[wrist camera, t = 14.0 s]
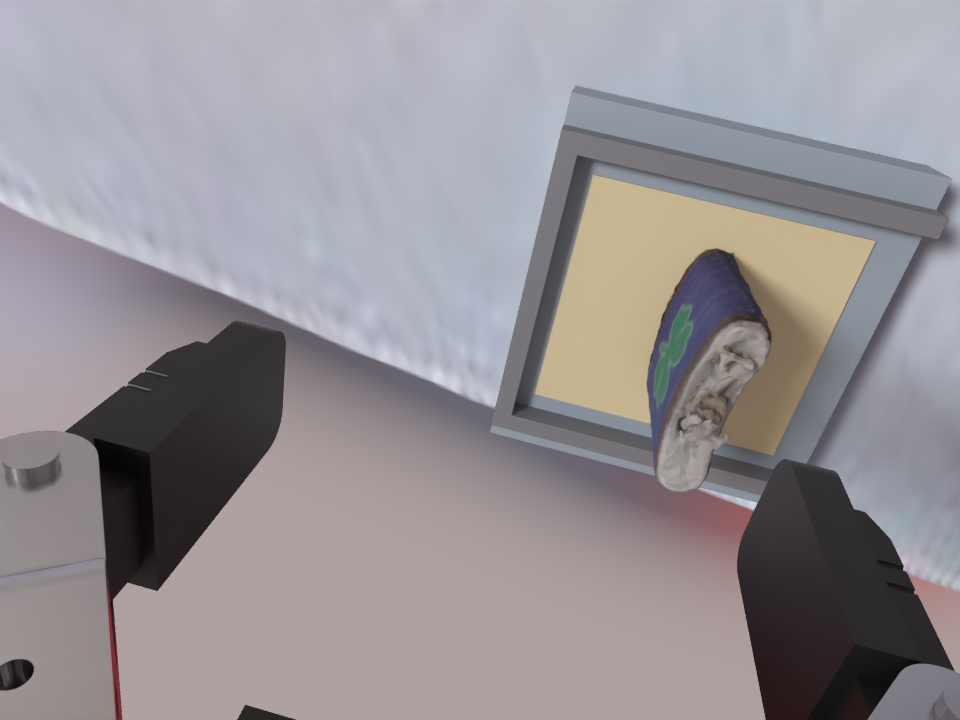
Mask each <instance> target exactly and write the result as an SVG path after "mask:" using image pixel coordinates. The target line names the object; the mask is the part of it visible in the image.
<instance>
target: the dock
mask: <svg viewBox="0 0 960 720" xmlns="http://www.w3.org/2000/svg"><path fill="white" fill-rule="evenodd" d="M951 180H952V179H951V178H950V177H948V176H946V175H944V174H942V173H940V172H938V171H936V170H935V169H933V168H931V167H929V166H927V165H922V164H918V163H913V162H909V161H905V160H900V159H896V158H891V157H887V156H883V155H878V154H874V153H869V152H865V151H860V150H856V149H852V148H847V147H843V146H838V145H834V144H830V143H825V142H821V141H816V140H812V139H808V138H803V137H799V136H794V135H790V134H786V133H781V132H777V131H772V130H768V129H763V128H759V127H755V126H750V125H746V124H741V123H737V122H733V121H728V120H724V119H719V118H715V117H711V116H706V115H702V114H697V113H693V112H689V111H684V110H680V109H675V108H671V107H666V106H662V105H658V104H653V103H649V102H644V101H640V100H636V99H631V98H627V97H622V96H618V95H614V94H609V93H605V92H600V91H596V90H591V89H587V88H583V87H578V86H575V87H574V89H573V91H572V93H571V97H570V102H569V106H568V110H567V114H566V118H565V122H564V125H563V128H562V130H561V135H560V139H559V143H558V147H557V151H556V156H555V160H554V164H553V168H552V172H551V177H550V181H549V185H548V189H547V193H546V198H545V202H544V206H543V210H542V214H541V219H540V223H539V227H538V231H537V235H536V240H535V244H534V248H533V252H532V256H531V260H530V265H529V269H528V273H527V277H526V281H525V286H524V290H523V294H522V298H521V302H520V307H519V311H518V315H517V319H516V323H515V328H514V332H513V336H512V340H511V344H510V349H509V353H508V357H507V361H506V365H505V370H504V374H503V378H502V382H501V386H500V391H499V395H498V399H497V403H496V407H495V412H494V416H493V420H492V424H491V425H492V428H491V433H495V434H499V435H503V436H506V437H510V438H514V439H518V440H522V441H525V442H529V443H533V444H537V445H540V446H544V447H548V448H552V449H556V450H560V451H564V452H568V453H571V454H575V455H579V456H583V457H586V458H591V459H594V460H598V461H601V462H605V463H609V464H613V465H617V466H621V467H624V468H628V469H632V470H636V471H640V472H643V473H647V474H651V475H655V472H654V460H653V443H652V430H651V425H650V423H651V418H650V411H649V397H648V393H647V383H646V382H647V378H648V375H647V374H648V367H649V363H650V357H651V354H652V352H653V349H654V347H653V346H654V344H655V340H656V338H657V333H658V330H659V327H660V324H661V317H662V315H663V313H664V312H665V309H666V304H667V303H668V301H669V300H670V296H671V295H672V294H673V292H674V289H675V286H676V285H677V284H678V283H679V281H680V280H681V278H682V276H683V273H685V270H686V268H687V267H688V266H689V265H690V264H691V263H692V262H693V261H694V260H695V257H696V256H698V255H699V254H700V253H702V252H704V251H705V250H706V249H715V248H718V249H721V250H725V251H726V252H728V253H733V252H734V258H735V260H736V262H737V264H738V268H739V270H740V273H741V274H742V276H743V277H744V279H745V281H746V283H747V284H748V285H749V287H750V290H751V293H752V295H753V298H754V299H755V300H756V302H757V304H758V306H759V307H760V308H761V312H762V314H763V316H764V317H765V318H766V320H767V321H768V327H769V329H770V331H771V335H772V342H771V352H770V354H769V356H768V358H767V360H766V361H765V362H764V364H763V366H762V368H761V369H760V370H759V371H758V372H756V373H755V374H754V376H753V378H752V379H751V380H750V381H749V382H748V383H747V384H746V386H745V387H744V389H743V390H742V392H741V394H740V395H739V397H738V398H737V400H736V401H735V403H734V406H733V408H732V410H731V411H730V413H729V415H728V417H727V419H726V421H725V423H724V426H723V428H722V432H721V433H720V435H719V436H720V437H723V436H724V435H726V434H729V436H730V440H729V441H728V442H725V443H724V444H723V445H722V446H721V447H720V448H719V449H714V451H713V455H712V459H711V465H710V469H709V473H708V476H707V477H706V479H705V480H704V482H703V483H702V485H701V486H700V488H704V489H708V490H712V491H716V492H719V493H723V494H727V495H731V496H735V497H738V498H742V499H746V500H750V501H754V502H757V503H758V502H759V499H760V497H761V495H762V493H763V491H764V489H765V487H766V485H767V483H768V480H769V478H770V476H771V474H772V472H773V470H774V468H775V467H776V465H777V464H778V463H779V462H780V461H781V460H783V459H789V460H792V461H796V462H800V463H804V464H807V462H808V460H809V459H810V457H811V455H812V453H813V451H814V449H815V447H816V445H817V443H818V441H819V439H820V437H821V435H822V433H823V431H824V429H825V427H826V425H827V423H828V421H829V419H830V417H831V415H832V413H833V411H834V409H835V408H836V406H837V404H838V402H839V400H840V398H841V396H842V394H843V392H844V390H845V388H846V386H847V384H848V382H849V380H850V378H851V376H852V374H853V372H854V370H855V368H856V366H857V364H858V362H859V360H860V358H861V357H862V355H863V353H864V351H865V349H866V347H867V345H868V343H869V341H870V339H871V337H872V335H873V333H874V331H875V329H876V327H877V325H878V323H879V321H880V319H881V317H882V315H883V313H884V311H885V309H886V307H887V306H888V304H889V302H890V300H891V298H892V296H893V294H894V292H895V290H896V288H897V286H898V284H899V282H900V280H901V278H902V276H903V274H904V272H905V270H906V268H907V266H908V264H909V262H910V260H911V258H912V256H913V255H914V253H915V251H916V249H917V247H918V245H919V243H920V241H921V239H922V237H923V236H926V237H930V238H934V239H939V237H940V235H941V233H942V231H943V229H944V227H945V225H946V224H947V222H948V220H949V218H947V217H946V216H944V215H943V214H941V213H940V212H938V211H937V210H936V209H937V207H938V206H939V204H940V202H941V200H942V198H943V196H944V194H945V192H946V190H947V188H948V186H949V184H950V182H951Z"/></svg>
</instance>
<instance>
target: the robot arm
mask: <svg viewBox="0 0 960 720" xmlns="http://www.w3.org/2000/svg"><path fill="white" fill-rule="evenodd" d="M285 351H286V342H285V336H284V334H283V333H282V332H281V331H277V330H274V329H270V328H266V327H262V326H258V325H254V324H250V323H246V322H241V321H234V322H233V323H231V324H230V325H229V326H227V327H226V328H225V329H224V330H223V331H222V332H220V333H219V334H218V335H217V336H216V337H214V338H213V339H212V340H211V341H209V342H208V343H207V344H206V343H202V342H194V343H191V344H189V345H186V346H183V347H180V348H178V349H175V350H173V351H170V352H167V353H166V354H164V355H163V356H162V357H160V358H159V359H158V360H157V361H155V362H154V363H153V364H151V365H150V366H149V367H148V368H146V371H145V373H140V374H139V375H137V376H136V377H135V378H133V379H132V380H131V381H130V382H128V386H127V387H125V386H123V387H122V388H120V389H119V390H118V391H117V392H115V393H114V394H113V395H111V396H110V397H109V398H108V399H107V400H105V401H104V402H102V403H101V404H100V405H99V406H97V407H96V408H95V409H93V410H92V411H91V412H90V413H88V414H87V415H86V416H84V417H83V418H82V419H81V420H79V421H78V422H77V423H76V424H74V425H73V426H72V427H70V428H69V429H68V430H66V431H65V432H58V431H35V432H28V433H22V434H18V435H14V436H10V437H7V438H4V439H1V440H0V720H122V708H121V695H120V682H119V670H118V657H117V644H116V632H115V619H114V607H113V599H114V598H115V596H116V595H117V594H118V593H119V592H120V590H121V589H122V588H123V587H124V586H125V585H126V584H127V582H128V583H131V584H135V585H138V586H142V587H145V588H149V589H152V590H156V591H158V590H159V588H160V587H161V586H162V584H163V583H164V582H165V581H166V580H167V578H168V577H169V576H170V574H171V573H172V572H173V571H174V569H175V568H176V567H177V566H178V564H179V563H180V562H181V560H182V559H183V558H184V557H185V555H186V554H187V553H188V552H189V550H190V549H191V548H192V546H193V545H194V544H195V543H196V541H197V540H198V539H199V537H200V536H201V535H202V534H203V532H204V531H205V530H206V529H207V527H208V526H209V525H210V524H211V522H212V521H213V520H214V519H215V517H216V516H217V515H218V513H219V512H220V511H221V510H222V508H223V507H224V506H225V505H226V503H227V502H228V501H229V499H230V498H231V497H232V496H233V494H234V493H235V492H236V491H237V489H238V488H239V487H240V485H241V484H242V483H243V482H244V480H245V479H246V478H247V477H248V475H249V474H250V473H251V472H252V470H253V469H254V468H255V466H256V465H257V464H258V463H259V461H260V460H261V459H262V458H263V456H264V455H265V454H266V453H267V451H268V450H269V449H270V447H271V445H272V444H273V442H274V440H275V437H276V435H277V433H278V429H279V426H280V422H281V417H282V408H283V389H284V369H285ZM903 567H904V566H903V564H902V562H901V560H900V558H899V556H898V554H897V551H896V549H895V547H894V545H893V543H892V541H891V539H890V538H889V537H888V536H887V535H886V534H885V533H884V532H883V531H882V530H881V529H880V527H879V526H878V525H877V524H876V523H875V522H874V521H873V520H872V519H871V518H870V517H869V516H868V515H867V514H866V513H865V512H863V511H859V510H855V509H853V506H852V504H851V502H850V500H849V497H848V495H847V493H846V491H845V488H844V486H843V484H842V482H841V479H840V477H839V475H838V474H837V473H836V472H835V471H832V470H828V469H824V468H820V467H816V466H812V465H808V464H804V463H800V462H796V461H792V460H789V459H783V460H781V461H780V462H779V463H778V464H777V465H776V467H775V468H774V470H773V472H772V474H771V476H770V478H769V480H768V483H767V485H766V487H765V489H764V491H763V493H762V495H761V497H760V499H759V502H758V504H757V506H756V508H755V510H754V512H753V514H752V516H751V518H750V521H749V523H748V525H747V527H746V529H745V531H744V534H743V536H742V539H741V543H740V546H739V551H738V559H737V572H738V578H739V583H740V589H741V594H742V599H743V604H744V609H745V614H746V619H747V625H748V630H749V635H750V640H751V646H752V650H753V656H754V661H755V666H756V671H757V676H758V681H759V687H760V692H761V697H762V703H763V707H764V713H765V718H766V720H960V674H959V673H957V672H955V671H954V669H953V667H952V665H951V663H950V660H949V658H948V656H947V655H946V652H945V650H944V648H943V646H942V644H941V642H940V640H939V638H938V636H937V634H936V632H935V630H934V628H933V625H932V623H931V621H930V619H929V617H928V615H927V613H926V611H925V609H924V607H923V605H922V603H921V601H920V599H919V597H918V595H915V594H914V590H915V589H914V586H913V584H912V582H911V580H910V578H909V576H908V574H907V572H905V571H903ZM237 720H295V719H292V718H288V717H284V716H281V715H278V714H274V713H271V712H268V711H264V710H261V709H258V708H254V707H251V706H247V705H245V707H244V708H243V710H242V712H241V714H240V716H239V718H238V719H237Z"/></svg>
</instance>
